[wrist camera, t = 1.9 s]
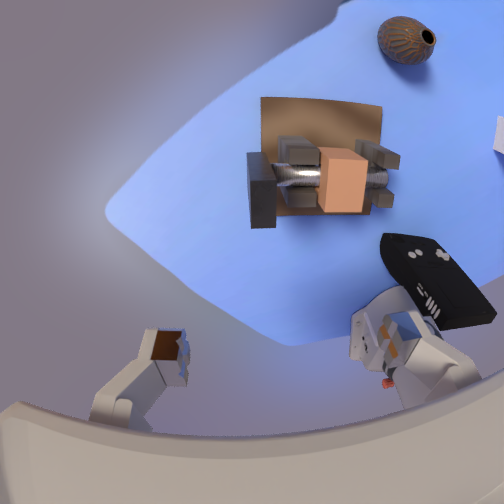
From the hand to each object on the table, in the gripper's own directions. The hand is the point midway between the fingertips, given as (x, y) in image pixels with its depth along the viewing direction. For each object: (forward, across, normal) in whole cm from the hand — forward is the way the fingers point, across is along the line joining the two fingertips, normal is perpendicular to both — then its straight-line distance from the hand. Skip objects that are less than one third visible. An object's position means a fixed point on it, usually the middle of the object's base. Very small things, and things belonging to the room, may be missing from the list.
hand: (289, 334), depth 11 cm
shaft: (+23, -7, 0) cm, 24 cm away
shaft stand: (+29, -9, 0) cm, 30 cm away
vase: (+29, -19, -18) cm, 39 cm away
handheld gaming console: (+29, -26, +14) cm, 41 cm away
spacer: (+23, -8, 0) cm, 24 cm away
